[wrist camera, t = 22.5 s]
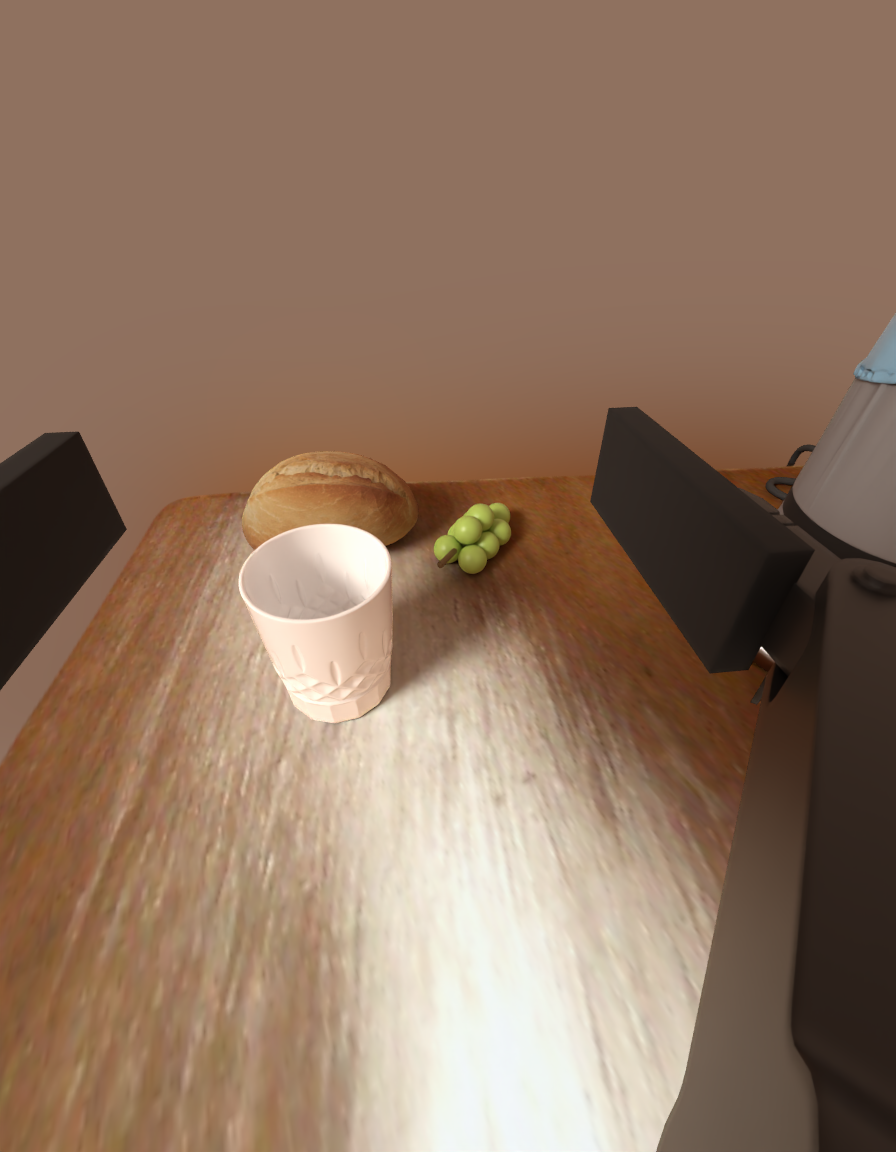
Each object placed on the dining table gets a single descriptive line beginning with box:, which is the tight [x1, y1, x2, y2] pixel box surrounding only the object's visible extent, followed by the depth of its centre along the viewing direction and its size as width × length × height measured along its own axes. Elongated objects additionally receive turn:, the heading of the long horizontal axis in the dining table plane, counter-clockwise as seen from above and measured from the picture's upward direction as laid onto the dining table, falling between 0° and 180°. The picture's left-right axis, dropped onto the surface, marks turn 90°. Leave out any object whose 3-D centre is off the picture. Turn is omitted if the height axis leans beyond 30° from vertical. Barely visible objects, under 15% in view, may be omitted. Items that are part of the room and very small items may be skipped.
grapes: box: [434, 503, 511, 574], centre depth 41 cm, size 11×5×4 cm, turn 148°
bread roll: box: [242, 451, 418, 551], centre depth 40 cm, size 10×15×8 cm, turn 103°
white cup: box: [239, 524, 393, 723], centre depth 29 cm, size 8×8×10 cm
